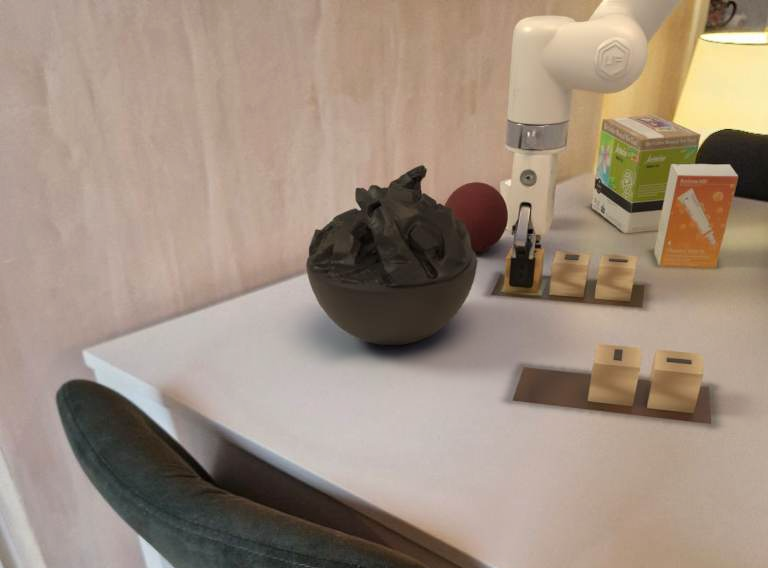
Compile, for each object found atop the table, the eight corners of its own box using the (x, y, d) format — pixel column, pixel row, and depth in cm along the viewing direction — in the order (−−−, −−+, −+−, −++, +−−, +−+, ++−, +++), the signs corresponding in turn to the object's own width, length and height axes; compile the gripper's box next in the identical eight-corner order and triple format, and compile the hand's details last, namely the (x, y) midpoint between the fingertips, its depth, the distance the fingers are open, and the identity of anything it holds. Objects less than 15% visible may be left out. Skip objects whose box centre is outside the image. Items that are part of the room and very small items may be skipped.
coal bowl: (368, 392, 84) (361, 218, 73) (285, 331, 98) (267, 175, 86) (507, 344, 93) (519, 181, 81) (412, 294, 106) (411, 148, 95)
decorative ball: (437, 260, 116) (438, 192, 110) (445, 238, 124) (446, 173, 118) (503, 262, 115) (508, 193, 109) (507, 240, 123) (511, 174, 116)
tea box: (588, 209, 134) (601, 116, 125) (642, 205, 135) (658, 112, 126) (625, 236, 122) (641, 136, 113) (683, 231, 124) (704, 131, 115)
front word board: (708, 390, 82) (719, 347, 79) (710, 428, 76) (723, 383, 73) (523, 370, 87) (526, 329, 84) (511, 404, 81) (515, 361, 78)
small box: (658, 269, 111) (676, 174, 103) (652, 254, 116) (670, 162, 108) (716, 271, 110) (739, 175, 102) (708, 255, 115) (730, 163, 107)
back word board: (643, 288, 105) (650, 251, 102) (642, 311, 99) (649, 273, 96) (500, 277, 110) (502, 241, 107) (490, 298, 104) (492, 261, 101)
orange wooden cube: (541, 280, 107) (544, 248, 104) (537, 293, 104) (540, 259, 101) (509, 278, 108) (511, 246, 105) (503, 290, 105) (505, 257, 102)
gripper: (559, 152, 87) (543, 305, 98) (574, 122, 100) (558, 260, 111) (494, 150, 89) (485, 300, 100) (517, 120, 101) (506, 256, 113)
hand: (523, 278), depth 105 cm, fingers closed on orange wooden cube, 4 cm apart
